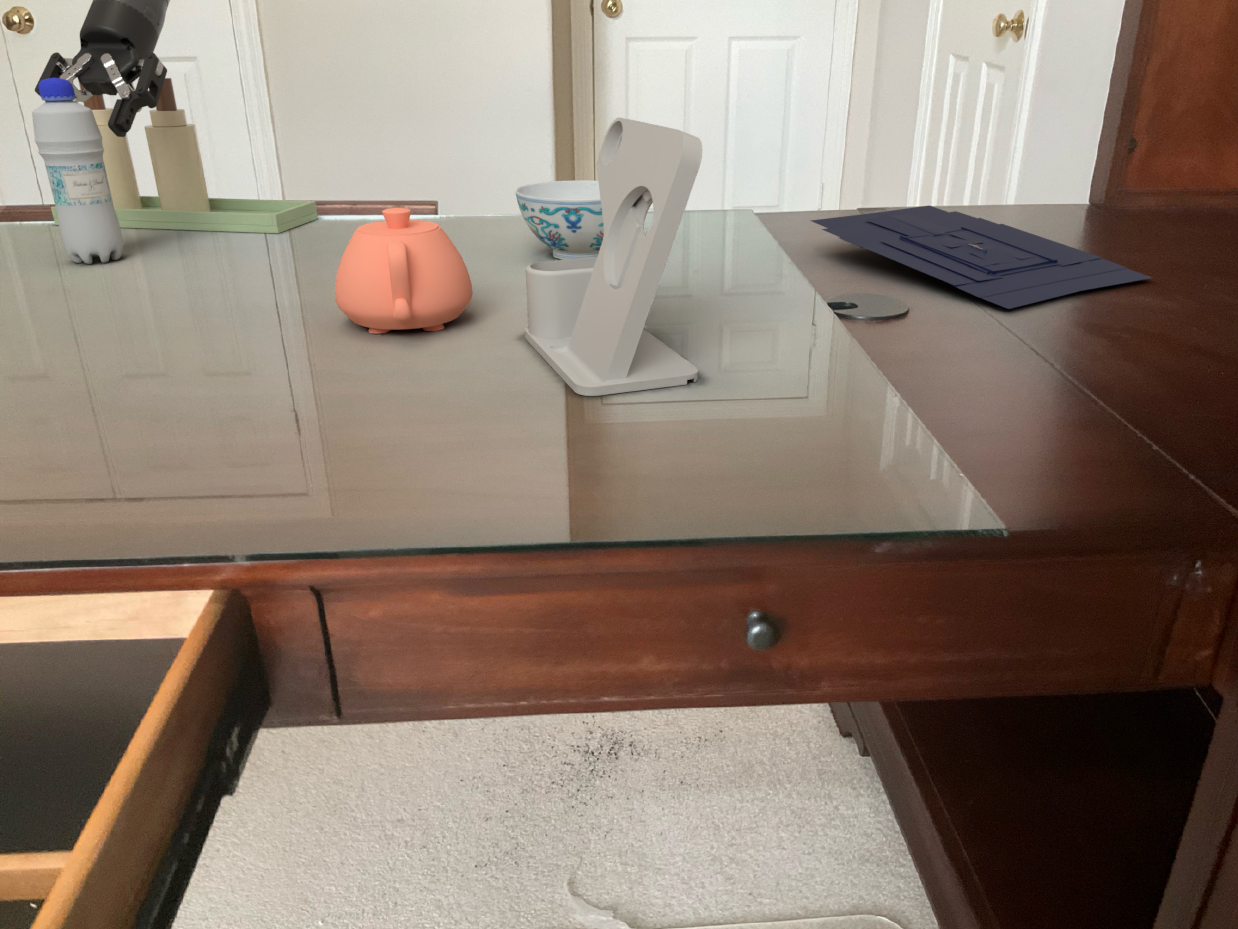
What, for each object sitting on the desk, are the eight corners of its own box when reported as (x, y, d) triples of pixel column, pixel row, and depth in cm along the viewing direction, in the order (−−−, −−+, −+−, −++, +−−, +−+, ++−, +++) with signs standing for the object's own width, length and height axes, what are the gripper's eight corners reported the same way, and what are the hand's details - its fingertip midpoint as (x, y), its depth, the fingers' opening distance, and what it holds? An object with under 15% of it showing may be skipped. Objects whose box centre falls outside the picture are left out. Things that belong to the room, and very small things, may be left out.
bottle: (78, 269, 106) (31, 79, 97) (57, 260, 110) (10, 77, 102) (138, 259, 110) (98, 77, 102) (115, 251, 114) (75, 75, 106)
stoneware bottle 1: (86, 212, 134) (54, 77, 126) (131, 207, 138) (102, 76, 131) (105, 217, 130) (73, 78, 122) (150, 211, 134) (122, 77, 127)
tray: (55, 225, 131) (50, 206, 130) (108, 211, 141) (105, 194, 140) (278, 233, 125) (275, 214, 124) (318, 218, 135) (315, 201, 134)
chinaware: (543, 274, 103) (540, 203, 100) (502, 248, 115) (498, 184, 112) (664, 262, 108) (665, 194, 105) (612, 238, 121) (612, 177, 118)
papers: (934, 224, 122) (941, 197, 120) (1145, 301, 101) (1158, 269, 99) (793, 244, 111) (798, 214, 109) (998, 336, 89) (1009, 300, 87)
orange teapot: (472, 301, 92) (465, 196, 88) (477, 343, 80) (469, 222, 76) (345, 307, 91) (331, 199, 86) (330, 351, 78) (313, 227, 74)
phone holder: (520, 333, 83) (510, 117, 75) (627, 322, 86) (627, 114, 78) (580, 397, 68) (575, 137, 60) (706, 381, 71) (716, 132, 63)
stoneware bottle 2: (154, 215, 132) (126, 78, 124) (197, 209, 136) (173, 76, 129) (175, 220, 128) (147, 79, 121) (219, 214, 133) (195, 77, 125)
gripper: (196, 45, 114) (157, 154, 108) (93, 45, 116) (50, 152, 111) (160, -5, 107) (116, 109, 101) (51, -4, 109) (3, 107, 104)
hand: (82, 131), depth 106 cm, fingers open, 8 cm apart
